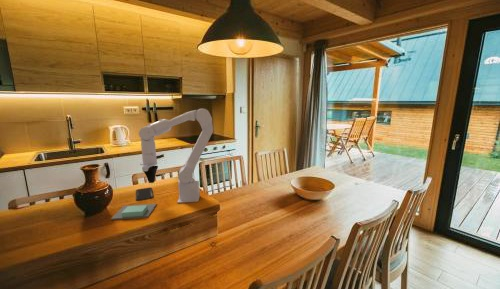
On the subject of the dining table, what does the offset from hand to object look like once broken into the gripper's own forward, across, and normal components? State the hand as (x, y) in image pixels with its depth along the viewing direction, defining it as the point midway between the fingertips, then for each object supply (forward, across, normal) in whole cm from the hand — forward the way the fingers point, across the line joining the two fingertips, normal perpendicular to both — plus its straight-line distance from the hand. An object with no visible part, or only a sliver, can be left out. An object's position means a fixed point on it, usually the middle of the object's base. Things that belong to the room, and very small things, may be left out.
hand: (151, 182), depth 105 cm
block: (+8, +8, -4) cm, 12 cm away
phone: (+10, -12, -8) cm, 18 cm away
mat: (+10, +8, -5) cm, 14 cm away
